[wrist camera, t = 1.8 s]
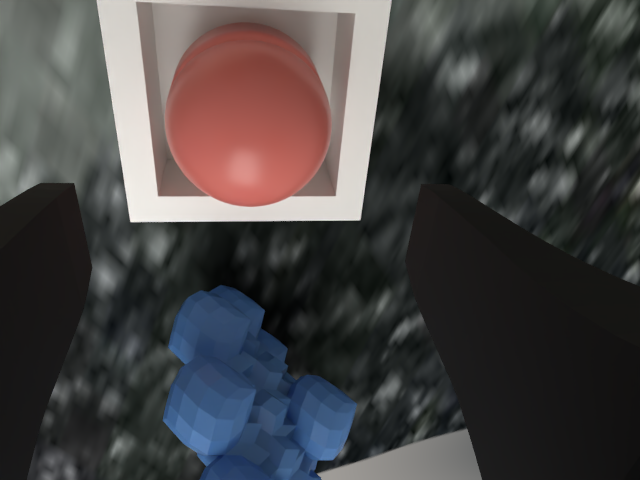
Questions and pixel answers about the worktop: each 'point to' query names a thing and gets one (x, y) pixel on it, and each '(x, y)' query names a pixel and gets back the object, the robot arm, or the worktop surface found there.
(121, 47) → the dome base
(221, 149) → the dome button
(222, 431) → the grapes
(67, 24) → the worktop surface
